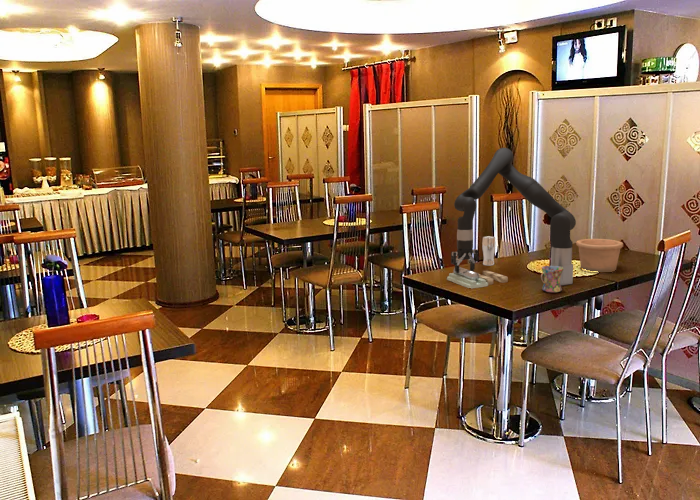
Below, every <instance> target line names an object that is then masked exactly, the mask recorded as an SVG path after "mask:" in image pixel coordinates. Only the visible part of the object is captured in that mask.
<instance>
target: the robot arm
mask: <svg viewBox="0 0 700 500" xmlns="http://www.w3.org/2000/svg"><path fill="white" fill-rule="evenodd" d="M513 160H514V153H513V151H512V150H511V149H509V148H507V147H501V148H499V149H497V150H496V151H495V153H494V154H493V156H492V158H491V160H490V161H489V163H488V165H487V166H486V167H485V169H484V170H483V171H482V173H481V174H480V175H478V177H477V178H476V179H475V181H473V183H472V184H471V185H470V187H469V188H468V189H466V190H464V191H463V192H461V193H460V194H459V195H458V196H457V197H456V198H455V200H454V203H453V207H454V209H456V211H458V212H459V211H460V212H463V214H462V216H460V217H458V218H457V230H456V231H457V232H456V248H457V251H451V253H450V264H451V265H454V268H455V272H456V273H459V267H460V264H461V263H462V262H463V261H465V260H468V261H469V262H470V264H469V270H470V271H473V272H475V268H476V267H475V266H476V263H477V262H479V249H477V248H474V231H473V230H474V229H473V221H474V217H475V213H476V210H477V202H476V200H479V199H480V198H481V197H482V196H483V195H484V194H485V193H486V192H487V190H489V187H490V186H491V184H492V183H493V181H494V180H495V178H496V177H497V176H498V174H499V175H500V176H502V178H504V179H505V180H506V181H508V182H509V183H510V184H511V185H512V186H513V187H514V188H515V189H516V190H517V191H518V192H519V194H521V195H522V197H523V198H524V199H526V201H528V202H529V203H530V204H531V205H533V206H534V207H535V208H538V209H540V210H541V211H543V212H544V213H545V214H547V215H548V216H549V217H550V218H551V219H550V225H549V235H550V237H549V239H550V242H551V243H550V244H551V246H550V248H551V250H550V266H559V267H562V268H564V269H563V271H562V274H561V277H560V286H567V285H573V278H574V263H573V246H574V245H573V240H571V231H572V230H573V229H574V228H575V226H576V224H577V221H576V218H575V216H574V215H573V213H571V212H570V211H569V210H568V209H566V208H565V207H564V206H562V205H561V204H560V203H559V202H558V200H556V199H555V198H554V197H553V196H552V195H551V194H550V193H549V192H548V191H547V190H546V189H545V188H544V186H543V185H542V184H540V183H539V181H537V180H536V179H534V178H533V177H531V176H528V175H526V174H523V173H521V172H520V171H518V169H517V168H515V167H514V165H513V164H512V163H513ZM473 248H474V249H473Z"/></svg>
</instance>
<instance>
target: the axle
mask: <svg viewBox="0 0 700 500" xmlns="http://www.w3.org/2000/svg"><path fill="white" fill-rule="evenodd" d="M453 273H455V274H457V275H460V276H463V277H466V278H468V279H471V280H474V281H477V280H478V279H479V274H480V273H479V272H476V271H470V269H467V268H464V267H461V266H459V273H456V272H455V267H454V268H453Z"/></svg>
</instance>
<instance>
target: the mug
mask: <svg viewBox="0 0 700 500" xmlns="http://www.w3.org/2000/svg"><path fill="white" fill-rule="evenodd" d="M563 269H564V268H562V267H559V266H551V265H544V266H541V271H542V273H541V274H540V279H541V281H542V283H543V285H542V287H541V290H542V291H544V292H547V293H553V294H555V293H559V292H562V290H563V289H562V285H560V277H561V274H562V271H563Z"/></svg>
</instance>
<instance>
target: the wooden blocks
mask: <svg viewBox="0 0 700 500" xmlns="http://www.w3.org/2000/svg"><path fill="white" fill-rule="evenodd" d="M478 274H479V278H481V279H484V280H486V282H487V283H488V286H490V285H494V281H495V282H499V283H502V284H504V283H508V281H509V278H508V276H506V275H503V274H500V273H497V272H493V271H491V270H483V271H482V274H480V273H478Z"/></svg>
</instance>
